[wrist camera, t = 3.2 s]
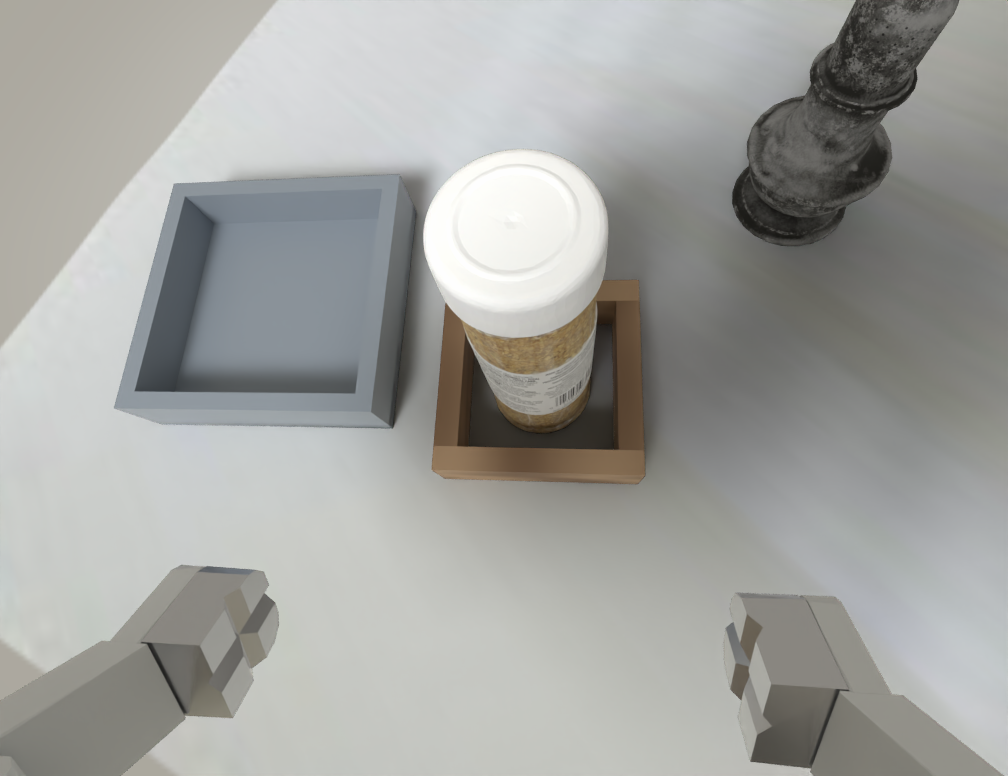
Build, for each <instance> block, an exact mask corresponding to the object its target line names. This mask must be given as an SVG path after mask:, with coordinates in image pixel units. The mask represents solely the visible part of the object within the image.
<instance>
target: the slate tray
mask: <svg viewBox="0 0 1008 776" xmlns="http://www.w3.org/2000/svg"><path fill="white" fill-rule="evenodd" d="M415 218H416V210H415V208H414V205H413V203H412V201H411V199H410V196H409V194H408V192H407V190H406V187H405V185H404V183H403V180H402V178H401V176H400V174H392V175H368V176H344V177H320V178H296V179H272V180H248V181H224V182H200V183H176V184H174V186H173V189H172V193H171V197H170V201H169V204H168V208H167V212H166V216H165V219H164V223H163V227H162V230H161V234H160V238H159V242H158V245H157V249H156V253H155V257H154V260H153V264H152V268H151V272H150V275H149V279H148V283H147V286H146V290H145V294H144V298H143V301H142V305H141V309H140V313H139V316H138V320H137V324H136V328H135V331H134V335H133V339H132V343H131V346H130V350H129V354H128V357H127V361H126V365H125V369H124V372H123V376H122V380H121V384H120V387H119V391H118V395H117V399H116V402H115V406H114V409H117V410H120V411H123V412H126V413H129V414H132V415H135V416H138V417H141V418H144V419H147V420H150V421H153V422H156V423H159V424H176V425H233V426H289V427H346V428H393V422H394V412H395V403H396V394H397V385H398V375H399V366H400V357H401V348H402V338H403V329H404V320H405V311H406V301H407V292H408V283H409V274H410V264H411V255H412V246H413V237H414V227H415Z"/></svg>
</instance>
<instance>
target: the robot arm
mask: <svg viewBox="0 0 1008 776" xmlns="http://www.w3.org/2000/svg"><path fill="white" fill-rule="evenodd" d="M268 586H269V583H268V581H267V578H266V576H265V573H264V572H263V571H258V570H249V569H236V568H223V567H210V566H206V567H205V566H191V565H180V566H178V567H177V568H175V569H173V570H171V571H170V572H169V574H168V575H167V576H166V577H165V578H164V579H163V581H162V582H161V583H160V584H159V585H158V586H157V587H156V589H155V590H154V591H153V592H152V593H151V594H150V596H149V597H148V598H147V599H146V600H145V601H144V602H143V604H142V605H141V606H140V607H139V608H138V609H137V611H136V612H135V613H134V614H133V615H132V616H131V618H130V619H129V620H128V621H127V622H126V623H125V624H124V626H123V627H122V628H121V629H120V630H119V631H118V633H117V634H116V635H115V636H114V637H113V638H112V639H111V641H101V642H99V643H97V644H96V645H94V646H92V647H90V648H89V649H87V650H85V651H84V652H82V653H80V654H79V655H77V656H75V657H73V658H72V659H70V660H68V661H67V662H65V663H63V664H62V665H60V666H58V667H56V668H55V669H53V670H51V671H50V672H48V673H46V674H45V675H43V676H41V677H39V678H38V679H36V680H35V681H33V682H31V683H29V684H28V685H26V686H24V687H22V688H21V689H19V690H17V691H16V692H14V693H12V694H11V695H9V696H7V697H5V698H4V699H2V700H0V776H121V775H122V774H123V773H125V772H126V771H127V770H128V769H129V768H130V767H131V766H133V765H134V764H135V763H136V762H137V761H138V760H139V759H141V758H142V757H143V756H144V755H145V754H146V753H147V752H149V751H150V750H151V749H152V748H153V747H154V746H155V745H156V744H158V743H159V742H160V741H161V740H162V739H163V738H164V737H166V736H167V735H168V734H169V733H170V732H171V731H172V730H173V729H175V728H176V727H177V726H178V725H179V724H180V723H181V722H183V721H184V720H185V718H186V717H185V716H202V717H221V718H233V717H234V715H235V714H236V712H237V710H238V708H239V706H240V705H241V703H242V701H243V699H244V697H245V696H246V694H247V692H248V690H249V688H250V687H251V685H252V683H253V681H254V679H253V672H252V668H253V667H254V666H256V665H257V664H258V663H260V662H261V661H262V660H264V659H265V658H266V657H267V656H268V654H269V652H270V650H271V648H272V646H273V644H274V642H275V639H276V635H277V631H278V627H279V614H278V610H277V606H276V603H275V602H274V601H273V600H272V599H270V598H269V597H268V596H267V595H266V594H265V591H266V589H267V588H268ZM730 612H731V616H732V619H733V623H731V624H730V625H729V626H728V627H726V629H725V636H724V642H723V645H724V663H725V669H726V675H727V679H728V683H729V686H730V690H731V691H732V692H733V693H734V694H735V695H736V696H737V697H738V698H739V699H740V700H741V705H740V709H739V714H738V720H739V723H740V727H741V731H742V734H743V738H744V741H745V745H746V748H747V752H748V756H749V759H750V762H758V763H767V764H775V765H784V766H793V767H802V768H811V771H810V772H811V773H812V774H813V776H1004V775H1002V774H1001V773H1000V772H999V771H997V770H996V769H995V768H994V767H992V766H991V765H990V764H989V763H987V762H986V761H985V760H984V759H982V758H981V757H980V756H979V755H977V754H976V753H975V752H974V751H972V750H971V749H970V748H969V747H967V746H966V745H965V744H964V743H962V742H961V741H960V740H959V739H957V738H956V737H955V736H954V735H952V734H951V733H950V732H949V731H947V730H946V729H945V728H944V727H942V726H941V725H940V724H939V723H937V722H936V721H935V720H934V719H932V718H931V717H930V716H929V715H927V714H926V713H925V712H924V711H922V710H921V709H920V708H919V707H917V706H916V705H915V704H914V703H912V702H911V701H910V700H908V699H907V698H906V697H905V696H903V695H895V694H892V693H891V691H890V690H889V688H888V686H887V684H886V682H885V681H884V679H883V677H882V675H881V673H880V671H879V670H878V668H877V666H876V664H875V662H874V661H873V659H872V657H871V655H870V653H869V652H868V650H867V648H866V646H865V644H864V642H863V641H862V639H861V637H860V635H859V633H858V632H857V630H856V628H855V626H854V624H853V622H852V621H851V619H850V617H849V615H848V613H847V612H846V610H845V608H844V606H843V604H842V603H841V602H840V601H839V600H838V599H837V598H836V597H828V596H805V595H801V596H798V595H786V594H759V593H735V594H734V595H733V597H732V599H731V604H730Z"/></svg>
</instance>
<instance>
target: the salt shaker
mask: <svg viewBox="0 0 1008 776" xmlns="http://www.w3.org/2000/svg"><path fill="white" fill-rule="evenodd" d="M958 3H959V0H856V2H855V4H854V6H853V8H852V9H851V11H850V13H849V15H848V17H847V19H846V21H845V23H844V25H843V27H842V29H841V31H840V33H839V35H838V37H837V39H836V41H835V43H833V44H830V45H829V46H827V47H826V48H825V49H823V50H822V51H821V52H820V53H819V54H818V55H817V57H816V58H815V59H814V61H813V64H812V67H811V70H810V81H811V86H810V88H809V90H808V91H807V93H806V95H805V96H801V97H796V98H791V99H788V100H785V101H783V102H781V103H779V104H776V105H774V106H773V107H771V108H770V109H769V110H767V111H766V112H765V113H763V114H762V115H761V116H760V118H759V119H758V120H757V122H756V123H755V124H754V126H753V127H752V130H751V133H750V136H749V139H748V141H747V156H748V159H749V167H747V168H746V169H745V170H744V171H743V172H742V173H741V175H740V176H739V178H738V179H737V181H736V183H735V186H734V189H733V199H732V204H733V207H734V210H735V213H736V216H737V217H738V219H739V220H740V222H741V223H742V225H743V226H744V227H745V228H746V229H748V230H749V231H750V232H751V233H752V234H753V235H755V236H757V237H759V238H761V239H763V240H765V241H767V242H770V243H774V244H778V245H781V246H800V245H806V244H811V243H814V242H816V241H818V240H820V239H823V238H825V237H826V236H827V235H828V234H830V233H831V232H832V231H833V230H835V228H836V227H837V225H838V224H839V222H840V221H841V220H842V218H843V215H844V211H845V208H846V206H847V205H849V204H851V203H852V202H855V201H857V200H859V199H862V198H864V197H866V196H867V195H868V194H869V193H871V192H872V191H873V190H874V189H876V188H877V187H878V186H879V185H880V183H881V182H882V180H883V179H884V177H885V176H886V175H887V173H888V171H889V167H890V163H891V159H892V153H891V143H890V140H889V138H888V136H887V134H886V132H885V129H884V127H883V126H882V125H881V124H880V122H881V121H882V119H883V118H884V116H885V115H886V114H887V112H888V111H889V110H891V109H893V108H896V107H898V106H899V105H901V104H902V103H903V102H904V101H906V100H907V99H908V98H909V96H910V95H911V93H912V92H913V90H914V89H915V86H916V82H917V71H916V67H917V66H918V64H919V63H920V61H921V60H922V59H923V57H924V56H925V54H926V53H927V51H928V50H929V49H930V47H931V46H932V44H933V43H934V41H935V40H936V39H937V37H938V36H939V34H940V33H941V31H942V30H943V29H944V27H945V26H946V24H947V23H948V21H949V20H950V19H951V17H952V16H953V14H954V13H955V10H956V8H957V6H958Z"/></svg>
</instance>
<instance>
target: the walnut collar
mask: <svg viewBox="0 0 1008 776" xmlns="http://www.w3.org/2000/svg"><path fill="white" fill-rule="evenodd" d="M596 303H597V324H612V362H613V425H614V450H599V449H552V448H506V447H468V446H469V431H470V415H471V400H472V384H473V369H474V351H473V349H472V347H471V345H470V343H469V341H468V338H467V336H466V333H465V330H464V326H463V323H462V321H461V319H460V318H459V317H458V316H457V315H456V314H455V313H454V312H453V311H452V310H451V309H450V307H449V306H448V305H447V303H446V304H445V316H444V328H443V340H442V352H441V364H440V375H439V387H438V399H437V411H436V423H435V435H434V446H433V458H432V470H433V471H434V472H436V473H437V474H439V475H440V476H442V477H443V478H445V479H477V480H511V481H546V482H580V483H615V484H638V483H639V482H640V481H641V480H642V479H643V478H644V476H645V454H644V423H643V392H642V362H641V331H640V301H639V280H603V281H602V283H601V286H600V288H599V290H598V292H597V296H596Z"/></svg>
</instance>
